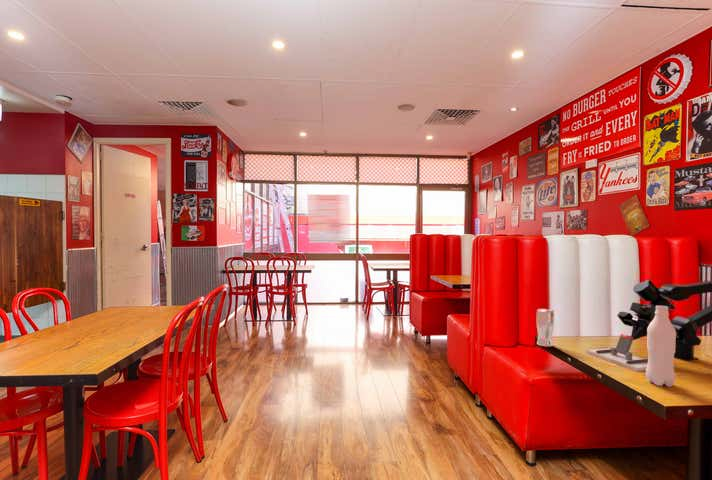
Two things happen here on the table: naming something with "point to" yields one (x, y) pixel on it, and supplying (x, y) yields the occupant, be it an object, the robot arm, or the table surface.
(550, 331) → the beer glass
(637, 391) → the table surface
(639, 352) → the table surface
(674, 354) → the robot arm
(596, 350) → the plate
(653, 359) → the water bottle
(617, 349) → the lever
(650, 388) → the table surface
